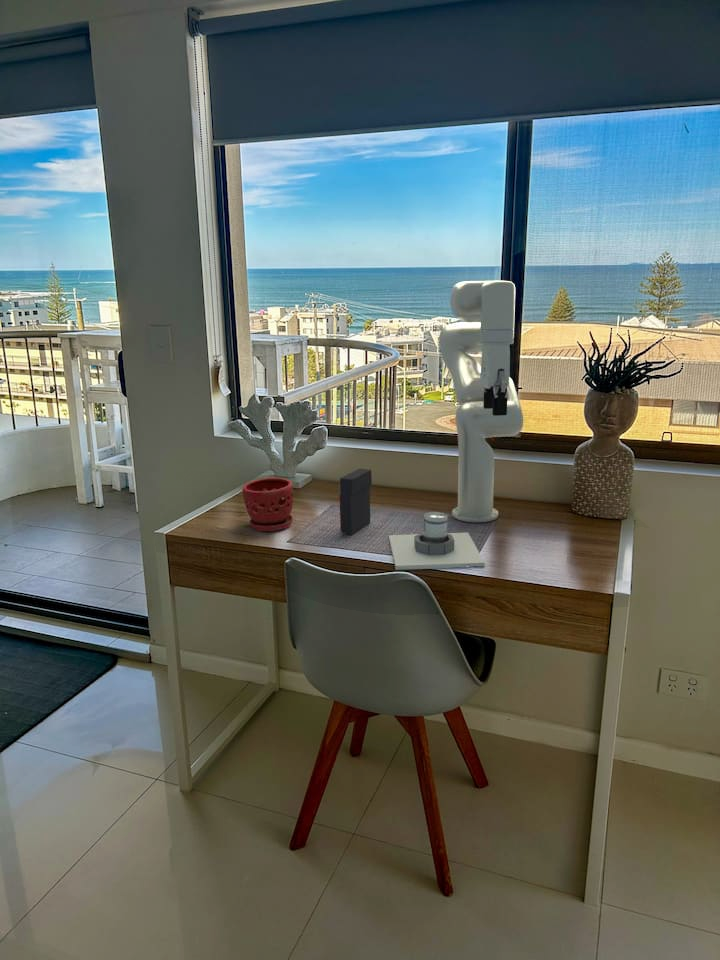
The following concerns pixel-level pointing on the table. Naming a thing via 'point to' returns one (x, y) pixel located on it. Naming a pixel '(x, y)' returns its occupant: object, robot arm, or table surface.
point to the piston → (435, 527)
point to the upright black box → (355, 501)
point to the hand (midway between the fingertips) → (494, 411)
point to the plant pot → (269, 503)
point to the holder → (434, 552)
